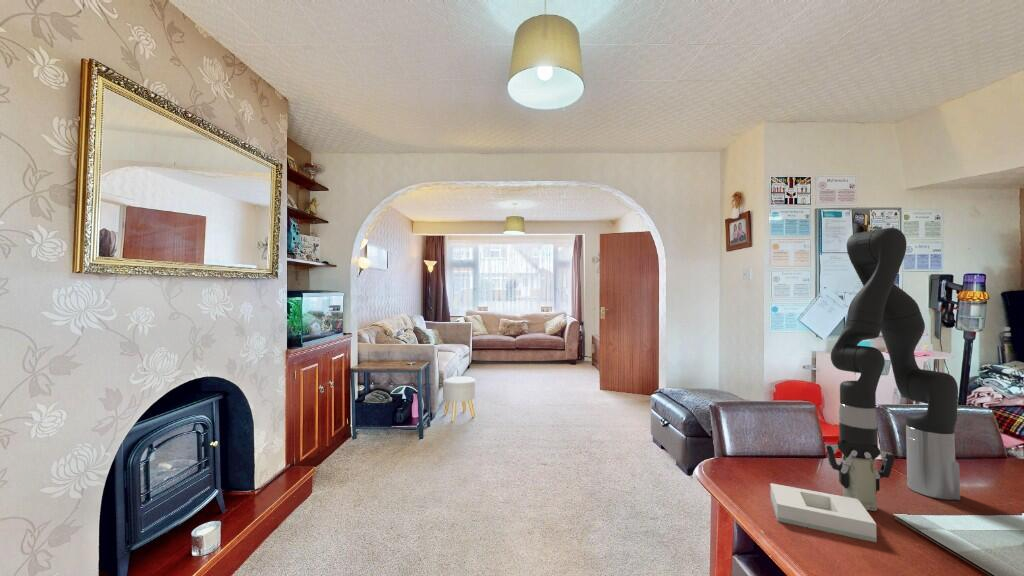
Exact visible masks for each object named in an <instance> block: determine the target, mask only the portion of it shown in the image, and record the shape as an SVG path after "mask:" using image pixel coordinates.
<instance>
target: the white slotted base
mask: <svg viewBox="0 0 1024 576" xmlns="http://www.w3.org/2000/svg"><path fill="white" fill-rule="evenodd" d="M769 485H770V501H771V504H772V505H771V506H772V508H773V510H774V511H773V512H774V514H775V517H776V520H777V522H781V523H785V524H789V525H792V526H793V525H794V526H800V527H803V528H807V527H808V528H807V529H812V530H817V531H822V532H826V533H831V534H836V535H840V536H845V537H849V538H854V539H859V540H863V541H868V542H872V543H877V541H878V540H877V539H878V538H877V523H876V522H875V520H874V519H873V517H872V515H870V513H869V512H868V510H866V509H865V508H864V507H863V505H862V504H861V503H860V501H859V500H858V499H855V498H849V497H844V496H843V495H839V494H838V495H837V494H831V493H827V492H822V491H821V492H820V491H816V490H809V489H804V488H799V487H793V486H787V485H782V484H776V483H772V482H771V483H769Z"/></svg>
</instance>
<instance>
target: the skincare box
mask: <svg viewBox="0 0 1024 576" xmlns="http://www.w3.org/2000/svg"><path fill="white" fill-rule="evenodd" d="M842 456H843V453H842V452H841V457H842ZM846 459H847V458H846V457H845V460H846ZM875 466H876V461H875V460H874V461H871V460H866V459H863V458H856V457H855V458H852V464H851V466H850V467H849V468H848V470H847V472H846V473H847V474H848V488H844V487H843V486H842V496H844V497H849V498H855V499H858V500H859V501H860V503H861V504H862V505H863V507H864V508H865V509H866V511H873V512H877V511H878V506H877V505H878V503H877V493H876V474H875Z"/></svg>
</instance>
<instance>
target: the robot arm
mask: <svg viewBox="0 0 1024 576" xmlns="http://www.w3.org/2000/svg"><path fill="white" fill-rule="evenodd" d="M846 251H847V255H848V258H849V261H850V263H851V264H852V266H853V269H854V271H855V273H856V274H857V276H858V278H859V280H860V283H861V284H862V288H860V290H859V291H858V292H857V293H856V295H855V296H854V297H853V298H852V300H851V302H850V304H849V306H848V309H847V315H846V320H845V326H844V328H843V330H842V331H841V334H840V335H839V337H838V338H837V340H836V342H835V343H834V345H833V347H832V349H831V352H830V361H831V364H832V365H833V367H834V368H835V369H837V370H839V371H844V372H850V373H855V374H856V373H857V374H860V376H859V377H858V379H857V380H844V381H842V382H841V383H840V384H839V409H838V431H839V432H838V433H839V434H838V435H839V436H838V438H839V439H838V442H837V443H836V444H829V443H826V442H825V443H824V449H825V452H826V455H827V459H828V463H829V466H830V467H831V468H832V469H833V470H835V471H836V470H837V471H838V481H839V483H840V485H841V486H842V488H843V487H844V488H848V474H847V473H846V472H847V470H848V468H849V467H850V466H851V464H852V458H855V457H856V458H863V459H866V460H871V461H875V460H876V459H877V458H878V457H879V456H880V459H881V460H882V461H881V465H880V468H879V469H877V466H876V465H875V474H876V494H877V492H880V487H881V486H880V484H881V483H880V479H881V478H885V479H886V478H887V479H888V478H890V475H891V472H892V470H893V469H892V468H893V465H894V463H895V456H894V455H893V453H891V452H890V451H883V450H881V449H880V447H879V443H878V441H879V439H878V437H879V435H878V430H879V429H878V426H879V421H878V414H877V413H878V412H877V399H876V395H877V394H876V393H877V388H878V384H879V381H880V378H881V376H882V373H883V371H884V367H885V362H886V361H885V360H886V358H885V356H884V354H883V353H882V351H881V350H879V348H876V347H873V346H865V345H859V343H861V342H862V341H866V340H872V339H873V340H875V339H877V338H879V336H880V335H882V338H883V341H884V344H885V347H886V350H887V353H888V355H889V360H890V365H891V368H892V372H893V373H892V374H893V377H894V381H895V384H896V387H897V390H898V392H899V393H900V395H901V396H902V397H903V398H905V399H907V400H910V401H913V402H917V403H921V404H927V410H926V411H925V412H922V413H910V414H908V415H906V418H905V424H906V425H905V434H906V435H905V437H906V438H905V439H906V440H905V441H906V482H907V483H906V485H907V488H909V489H910V490H911V491H913V492H915V493H917V494H920V495H924V496H926V497H930V498H934V499H941V500H956V501H957V500H958V501H961V483H960V479H961V478H960V475H961V474H960V463H958V462H957V461H956V448H955V446H956V443H955V442H956V441H955V440H956V439H955V438H956V437H955V427H956V425H957V421H958V404H959V403H958V401H959V385H958V383H957V381H956V379H955V378H954V376H953V375H951V374H950V373H947V372H943V371H935V370H929V369H928V370H927V369H921V368H920V367H919V366H918V364H917V363H918V362H917V361H916V357H915V351H916V349H917V348H916V347H918V344H919V342H920V341H921V338H922V336H923V335H924V333H925V329H926V323H925V320H924V317H923V315H922V311H921V309H920V307H919V304H918V303H917V301H916V300H915V299H914V298H913V297H912V296H911V295H909V294H908V293H907V292H906V291H905V290H903V289H902V288H900V287H899V286H898V285H896V284H895V281H896V278H897V276H898V273H899V271H900V269H901V266H902V265H903V264H902V263H903V261H904V258H905V257H906V256H905V255H906V252H907V238H906V236H905V234H904V232H902V230H900V229H898V228H897V227H888V228H887V227H886V228H880V229H873V230H868V231H861V232H856V233H853V234H851V235H850V236H849V237H848V239H847V241H846ZM837 450H839V451H840V452H841V454H842V453H843V456H842V455H841V458H840V462H839V463H837V459H836V457H835V454H837ZM845 457H846V458H847V459H846V460H845Z"/></svg>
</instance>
